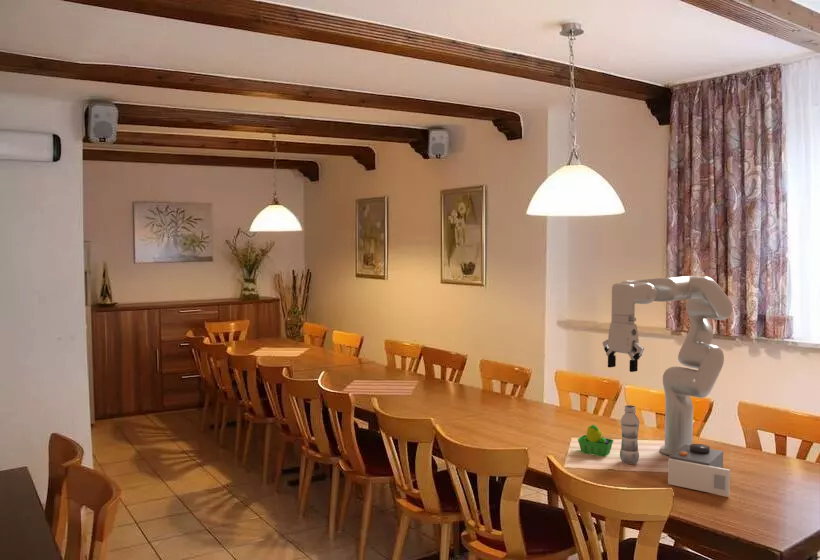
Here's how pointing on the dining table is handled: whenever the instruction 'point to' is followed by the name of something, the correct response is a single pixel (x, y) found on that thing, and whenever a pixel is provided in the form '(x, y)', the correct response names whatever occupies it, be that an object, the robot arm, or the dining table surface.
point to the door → (699, 477)
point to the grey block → (699, 455)
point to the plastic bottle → (629, 436)
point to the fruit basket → (595, 442)
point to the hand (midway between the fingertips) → (622, 369)
